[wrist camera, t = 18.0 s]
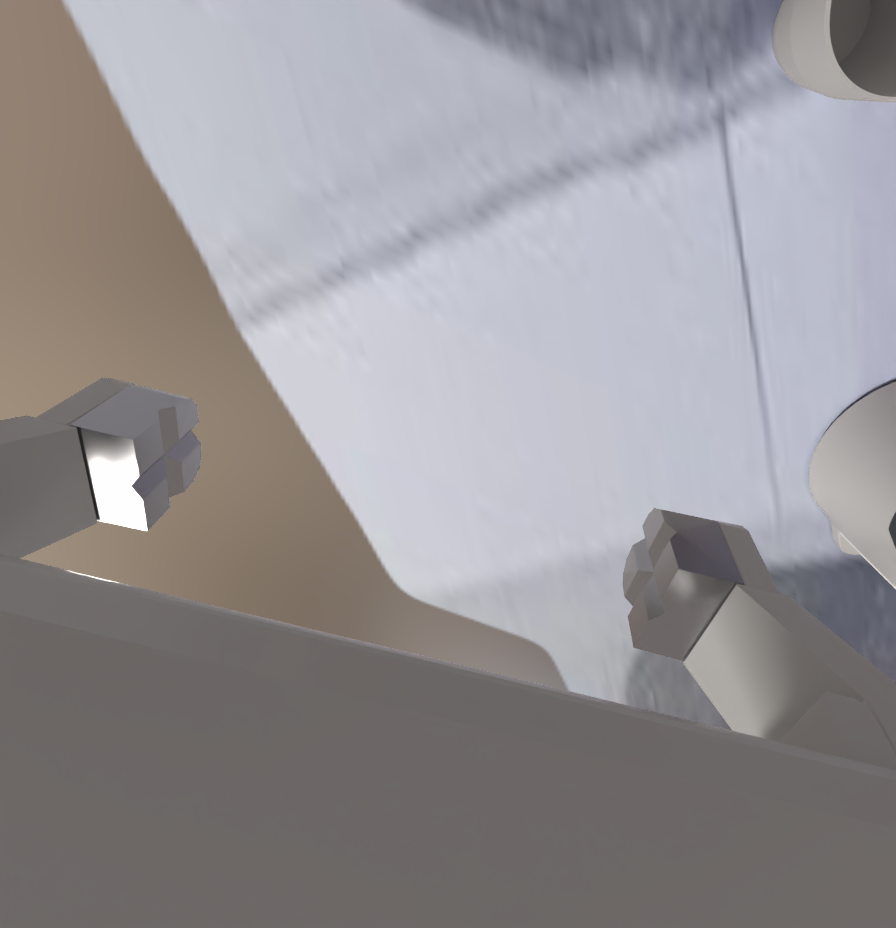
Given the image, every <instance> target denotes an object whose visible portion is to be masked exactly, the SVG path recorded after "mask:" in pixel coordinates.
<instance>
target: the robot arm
mask: <svg viewBox="0 0 896 928" xmlns="http://www.w3.org/2000/svg"><path fill="white" fill-rule="evenodd" d="M198 422H199V417H198V410H197V404H196V403H195V402H194V401H193V400H192V399H191V398H187V397H184V396H180V395H176V394H172V393H168V392H164V391H160V390H156V389H152V388H148V387H145V386H141V385H135V384H133V383H129V382H125V381H120V380H116V379H111V378H110V379H109V378H101V379H99V380H98V381H96V382H94V383H93V384H91V385H90V386H88V387H86V388H85V389H83V390H81V391H79V392H78V393H76V394H74V395H73V396H71V397H69V398H68V399H66V400H64V401H63V402H61V403H59V404H58V405H56V406H54V407H53V408H51V409H49V410H48V411H46V412H45V413H43V414H41V415H39V416H38V417H36V418H35V417H31V416H22V417H16V418H11V419H6V420H0V928H896V683H895V682H893V681H892V680H891V679H890V678H888V677H887V676H886V675H885V674H884V673H882V672H881V671H880V670H879V669H877V668H876V667H875V666H874V665H873V664H871V663H870V662H869V661H868V660H867V659H865V658H864V657H863V656H862V655H860V654H859V653H858V652H857V651H856V650H854V649H853V648H852V647H851V646H849V645H848V644H847V643H846V642H845V641H843V640H842V639H841V638H840V637H838V636H837V635H836V634H835V633H834V632H832V631H831V630H830V629H829V628H827V627H826V626H825V625H824V624H823V623H821V622H820V621H819V620H818V619H817V618H815V617H814V616H813V615H812V614H810V613H809V612H808V611H807V610H806V609H804V608H803V607H802V606H801V605H799V604H798V603H797V602H796V601H795V600H793V599H792V598H791V597H790V596H787V595H783V594H779V592H778V590H777V588H776V586H775V584H774V582H773V580H772V578H771V576H770V574H769V572H768V570H767V568H766V566H765V564H764V562H763V560H762V558H761V556H760V554H759V552H758V550H757V547H756V545H755V543H754V541H753V539H752V537H751V535H750V533H749V531H748V530H747V529H745V528H744V527H743V526H739V525H734V524H729V523H724V522H719V521H714V520H708V519H703V518H698V517H694V516H689V515H684V514H680V513H675V512H670V511H665V510H661V509H656V508H654V509H653V510H652V511H651V512H650V513H649V515H648V516H647V518H646V520H645V522H644V524H643V530H644V535H645V539H643V540H641V541H640V542H638V543H636V544H634V545H633V546H632V548H631V551H630V553H629V555H628V557H627V559H626V564H625V568H624V573H623V589H624V596H625V598H626V599H627V600H628V601H629V602H630V603H631V604H632V606H633V608H632V610H631V612H630V613H629V615H628V620H629V625H630V631H631V636H632V642H633V647H634V648H637V649H641V650H644V651H648V652H652V653H656V654H659V655H663V656H667V657H671V658H674V659H678V660H682V661H684V663H683V664H684V665H685V666H686V668H687V669H688V670H689V672H690V673H691V675H692V676H693V677H694V679H695V680H696V681H697V683H698V684H699V685H700V687H701V688H702V690H703V691H704V692H705V694H706V695H707V696H708V698H709V699H710V700H711V702H712V703H713V705H714V706H715V707H716V709H717V710H718V711H719V713H720V714H721V715H722V717H723V718H724V720H725V721H726V722H727V724H728V725H729V726H730V728H731V729H732V730H733V731H732V730H728V729H724V728H719V727H715V726H711V725H707V724H702V723H698V722H694V721H690V720H686V719H681V718H677V717H673V716H669V715H664V714H660V713H656V712H652V711H648V710H644V709H640V708H635V707H631V706H627V705H623V704H619V703H615V702H611V701H607V700H603V699H598V698H594V697H590V696H586V695H582V694H578V693H574V692H570V691H566V690H561V689H557V688H553V687H549V686H545V685H540V684H537V683H533V682H528V681H524V680H520V679H516V678H511V677H508V676H504V675H500V674H495V673H491V672H487V671H483V670H479V669H475V668H471V667H467V666H463V665H459V664H454V663H450V662H446V661H442V660H438V659H434V658H429V657H426V656H421V655H417V654H413V653H409V652H405V651H401V650H396V649H392V648H388V647H384V646H380V645H376V644H371V643H367V642H363V641H359V640H354V639H351V638H346V637H342V636H338V635H334V634H330V633H326V632H321V631H317V630H313V629H309V628H305V627H300V626H296V625H292V624H288V623H284V622H279V621H276V620H271V619H267V618H263V617H259V616H255V615H250V614H246V613H242V612H238V611H233V610H230V609H225V608H221V607H217V606H213V605H209V604H205V603H201V602H197V601H193V600H188V599H184V598H180V597H176V596H172V595H168V594H164V593H159V592H155V591H151V590H147V589H143V588H138V587H135V586H131V585H126V584H122V583H118V582H114V581H110V580H106V579H102V578H97V577H93V576H89V575H85V574H81V573H77V572H73V571H68V570H64V569H60V568H56V567H52V566H47V565H43V564H39V563H35V562H31V561H27V560H23V559H19V558H21V557H24V556H26V555H28V554H30V553H32V552H35V551H37V550H39V549H41V548H43V547H45V546H48V545H50V544H52V543H54V542H57V541H59V540H61V539H63V538H65V537H68V536H70V535H72V534H74V533H76V532H79V531H81V530H83V529H85V528H87V527H90V526H92V525H94V524H96V523H97V521H102V522H107V523H112V524H116V525H121V526H126V527H131V528H136V529H141V530H145V531H148V530H149V529H150V528H151V527H152V525H154V524H155V523H156V521H157V520H158V519H159V518H160V517H161V516H162V515H163V514H164V513H165V512H166V511H167V510H168V509H169V508H170V502H169V497H171V496H174V495H177V494H180V493H182V492H184V491H186V489H187V488H188V487H189V486H190V485H191V484H192V483H193V481H194V479H195V477H196V474H197V472H198V470H199V468H200V461H201V443H200V441H199V440H198V439H197V437H196V436H195V435H194V433H193V432H192V429H193V428H194V427H195V426H196V424H197V423H198ZM809 485H810V490H811V493H812V496H813V498H814V500H815V502H816V503H817V505H818V506H819V507H820V509H821V510H822V511H823V512H824V513H825V514H826V515H827V517H828V518H829V520H830V522H831V528H832V536H833V540H834V542H835V544H836V545H837V546H838V547H839V548H840V549H841V550H842V551H843V552H845V553H848V554H857V555H862V556H863V557H864V558H865V559H866V560H867V561H868V562H869V563H870V564H871V565H872V566H873V567H874V568H875V569H876V570H877V571H878V572H879V573H880V574H881V575H882V576H883V577H884V578H885V579H886V580H887V581H888V582H889V583H890V584H891V585H892V586H893V587H894V588H895V589H896V382H893V383H891V384H888V385H886V386H884V387H882V388H880V389H878V390H876V391H874V392H872V393H870V394H869V395H867V396H865V397H864V398H862V399H861V400H859V401H858V402H856V403H855V404H854V405H852V406H851V407H850V408H849V409H847V410H846V411H845V412H844V413H843V414H842V415H841V416H840V417H839V418H838V419H837V420H836V421H835V422H834V423H833V424H832V425H831V426H830V427H829V429H828V430H827V431H826V433H825V434H824V435H823V437H822V438H821V440H820V442H819V443H818V445H817V447H816V449H815V452H814V454H813V457H812V460H811V464H810V469H809Z"/></svg>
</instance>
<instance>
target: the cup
mask: <svg viewBox="0 0 896 928" xmlns="http://www.w3.org/2000/svg"><path fill="white" fill-rule="evenodd" d="M772 42H773V50H774V54H775V57H776V59H777V61H778V63H779V64H780V66H781V68H782V69H783V71H784V72H785V73H786V75H787V76H788V77H789V78H790V79H791V80H792V81H793V82H795V83H796V84H798V85H799V86H801V87H804V88H806V89H809V90H812V91H814V92H817V93H820V94H823V95H825V96H828V97H831V98H835V99H842V100H858V101H876V102H896V0H783V2H782V5H781V7H780V9H779V12H778V14H777V17H776V20H775V23H774V28H773V36H772Z"/></svg>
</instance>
